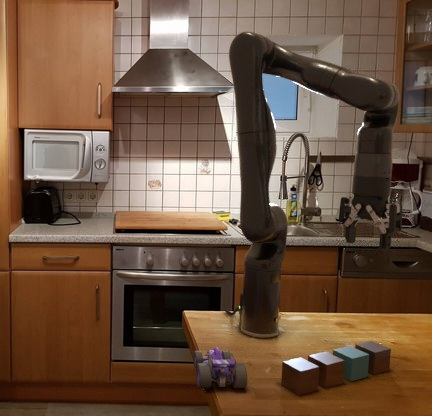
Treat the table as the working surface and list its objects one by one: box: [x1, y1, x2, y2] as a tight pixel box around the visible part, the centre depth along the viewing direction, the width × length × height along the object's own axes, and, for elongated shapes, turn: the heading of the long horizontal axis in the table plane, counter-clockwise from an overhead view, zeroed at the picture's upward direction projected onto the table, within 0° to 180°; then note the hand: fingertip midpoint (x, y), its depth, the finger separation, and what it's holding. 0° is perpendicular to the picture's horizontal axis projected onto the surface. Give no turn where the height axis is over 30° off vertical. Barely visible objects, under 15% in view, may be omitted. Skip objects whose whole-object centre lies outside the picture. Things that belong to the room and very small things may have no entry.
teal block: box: [332, 345, 369, 382], centre depth 112 cm, size 5×5×5 cm
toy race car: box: [192, 347, 248, 389], centre depth 111 cm, size 10×15×6 cm, turn 1°
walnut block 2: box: [307, 351, 345, 389], centre depth 109 cm, size 5×5×5 cm
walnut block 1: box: [280, 356, 319, 396], centre depth 106 cm, size 5×5×5 cm
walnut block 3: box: [354, 340, 392, 376], centre depth 115 cm, size 5×5×5 cm
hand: (366, 246), depth 117 cm, fingers open, 8 cm apart
